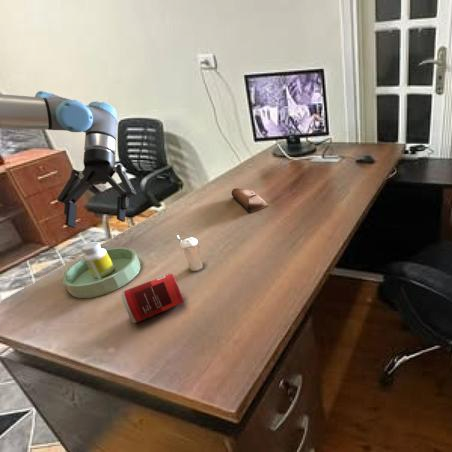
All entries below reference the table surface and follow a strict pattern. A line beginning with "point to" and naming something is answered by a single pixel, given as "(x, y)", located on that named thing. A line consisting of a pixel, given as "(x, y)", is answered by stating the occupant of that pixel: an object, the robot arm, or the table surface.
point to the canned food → (152, 298)
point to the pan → (89, 287)
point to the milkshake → (191, 253)
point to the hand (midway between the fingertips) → (95, 223)
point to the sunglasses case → (249, 199)
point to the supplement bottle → (98, 261)
